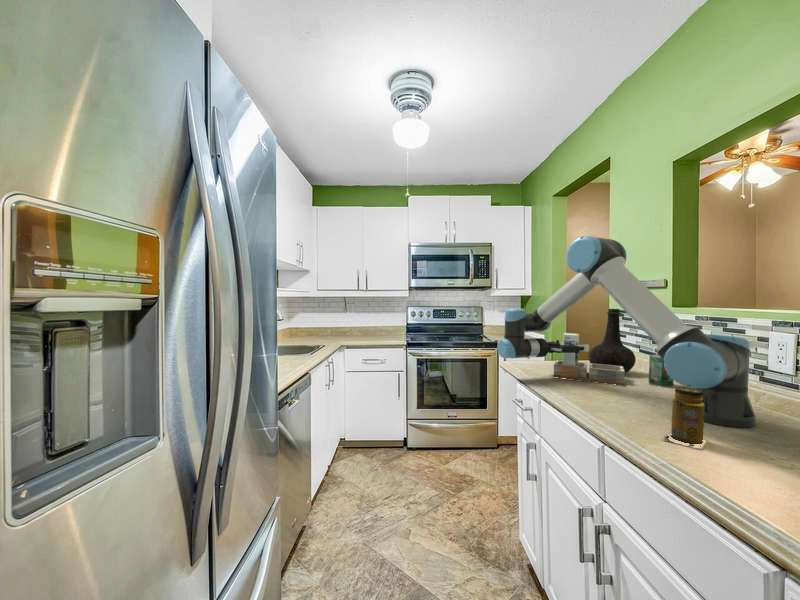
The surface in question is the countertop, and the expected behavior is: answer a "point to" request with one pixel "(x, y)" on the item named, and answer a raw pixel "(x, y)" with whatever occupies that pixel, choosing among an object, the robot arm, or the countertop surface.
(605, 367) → the socket board
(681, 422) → the condiment
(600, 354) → the glass bottle
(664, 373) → the canned tomato
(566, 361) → the syrup box
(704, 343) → the robot arm
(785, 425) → the countertop surface
